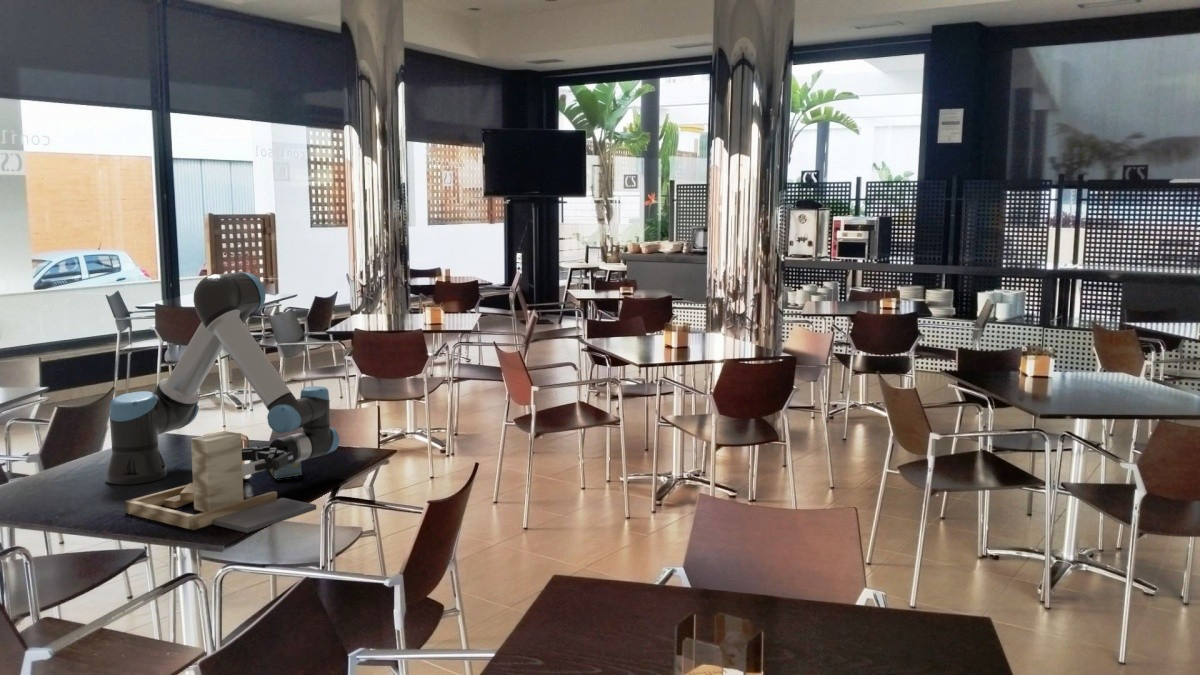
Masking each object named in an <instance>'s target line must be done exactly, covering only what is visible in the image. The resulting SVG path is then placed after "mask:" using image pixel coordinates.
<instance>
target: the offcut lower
mask: <svg viewBox="0 0 1200 675" xmlns="http://www.w3.org/2000/svg"><path fill="white" fill-rule="evenodd" d="M190 503H194V500H189V501H180V495H177V496H174V497H171V498H168V499H165V500H164V504H163V505H164V508H170V509H171V508H172V509H176V508H179V507H182V506H185V505H187V504H190Z"/></svg>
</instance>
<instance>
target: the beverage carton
mask: <svg viewBox="0 0 1200 675" xmlns="http://www.w3.org/2000/svg"><path fill="white" fill-rule="evenodd" d="M270 445H271V444H267V445H264V446H263V447H265V446H270ZM302 468H303V467H302V461H300V463H297V462H295V463H292V464H288V465H285V466H283V467H281V468H280V469H278V470H276V471H275V470H273V468H272V469H271V470H268V471H269V472H270V474H271V476H272V477H273V479H274V478H275V479H277V478H283V477H291V476H298V475H302V476H303V473H302ZM275 479H274V480H275ZM277 480H278V479H277Z"/></svg>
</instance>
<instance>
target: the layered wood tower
mask: <svg viewBox="0 0 1200 675" xmlns="http://www.w3.org/2000/svg"><path fill="white" fill-rule="evenodd" d="M190 445H191V446H190V447H191V468H192V470H191V471H192V483H193V494H194V502H193V508H194V509H193V510H195V511H199V512H201V513H202V512H206V511H209V510H212V509H216V508H219V507H222V506H226V505H229V504H232V503H235V502H239V501H242V500H245V499H244V497H245V496H244V480H243V479H244V476H242V465H243V461H242V434H241V433H239V432H233V431H228V430H227V431H226V430H225V431H219V432H216V433H215V432H214V433H210V434H206V435H201V436H197V437H192V438H190Z"/></svg>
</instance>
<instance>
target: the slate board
mask: <svg viewBox="0 0 1200 675" xmlns="http://www.w3.org/2000/svg"><path fill="white" fill-rule="evenodd" d="M316 510H317V504H315V503H310V502H305V501H300V500H296V499H292V498H286V497H279V498H277V500H274V501H270V502H267V503H264V504H261V505H257V506H254V507H251V508H248V509H245V510H241V511H238V512H235V513H232V514H229V515H225V516H222V517H219V518H216V519H213V524H212V525H213V526H216V527H217V526H218V527H221V528H227V529H228V530H229V529H230V530H235V531H238V532H242V533H247V534H248V533H251V532H255V531H257V530H260V529H262V528H266V527H268V526H272V525H275V524H278V523H280V522H284V521H286V520H289V519H293V518H295V517H299V516H302V515H304V514H307V513H310V512H313V511H316Z"/></svg>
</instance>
